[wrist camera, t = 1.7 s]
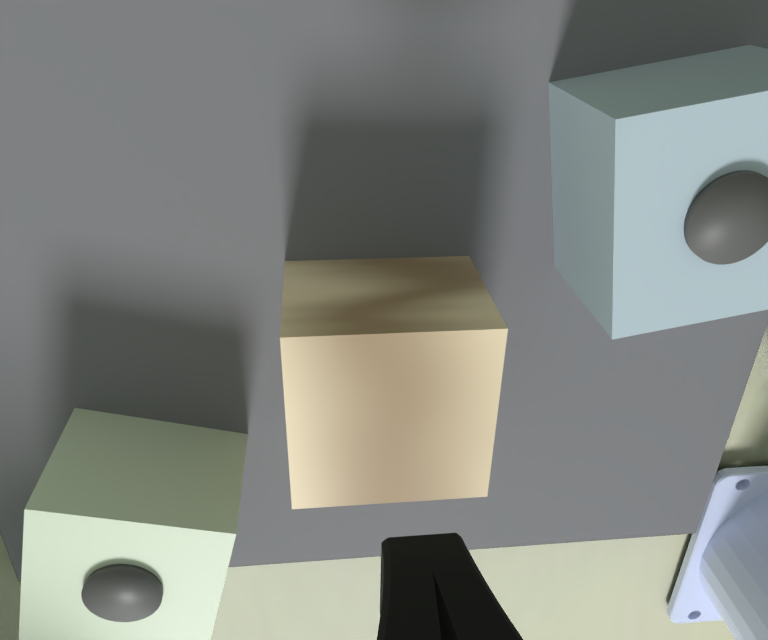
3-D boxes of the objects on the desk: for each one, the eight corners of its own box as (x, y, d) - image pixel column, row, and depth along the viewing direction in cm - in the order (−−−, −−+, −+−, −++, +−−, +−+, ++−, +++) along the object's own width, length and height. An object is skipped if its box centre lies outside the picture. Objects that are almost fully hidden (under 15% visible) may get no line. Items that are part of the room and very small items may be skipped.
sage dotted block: (247, 434, 20) (235, 540, 17) (221, 548, 23) (205, 664, 19) (74, 407, 19) (21, 515, 16) (64, 530, 21) (15, 649, 18)
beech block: (469, 255, 18) (508, 329, 15) (456, 404, 21) (487, 496, 17) (284, 261, 18) (279, 337, 14) (294, 412, 20) (292, 509, 17)
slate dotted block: (749, 45, 16) (878, 73, 13) (728, 233, 19) (831, 302, 15) (548, 82, 16) (619, 121, 12) (554, 266, 19) (615, 343, 15)
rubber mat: (866, -6, 16) (878, -5, 16) (690, 524, 25) (695, 533, 25) (-191, -18, 14) (-203, -18, 14) (23, 572, 23) (19, 582, 22)
